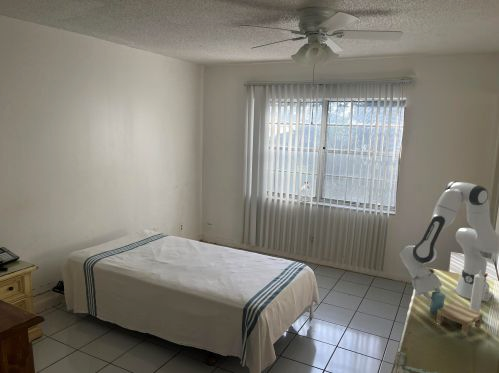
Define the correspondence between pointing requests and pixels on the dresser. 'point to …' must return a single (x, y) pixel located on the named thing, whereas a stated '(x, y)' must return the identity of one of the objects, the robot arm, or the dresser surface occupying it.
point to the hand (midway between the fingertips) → (436, 298)
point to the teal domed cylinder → (437, 302)
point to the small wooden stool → (460, 316)
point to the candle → (477, 292)
